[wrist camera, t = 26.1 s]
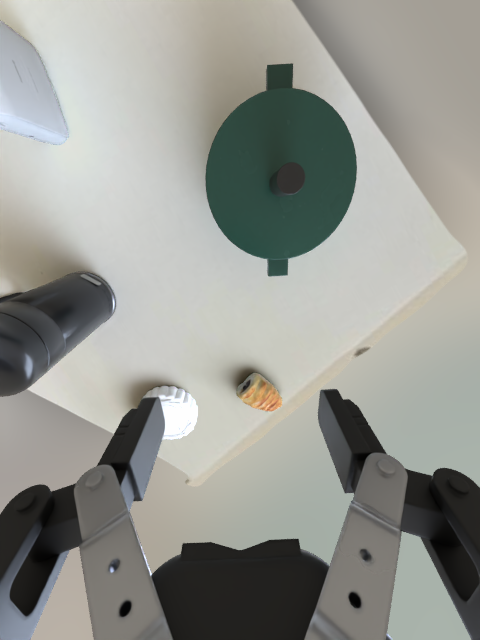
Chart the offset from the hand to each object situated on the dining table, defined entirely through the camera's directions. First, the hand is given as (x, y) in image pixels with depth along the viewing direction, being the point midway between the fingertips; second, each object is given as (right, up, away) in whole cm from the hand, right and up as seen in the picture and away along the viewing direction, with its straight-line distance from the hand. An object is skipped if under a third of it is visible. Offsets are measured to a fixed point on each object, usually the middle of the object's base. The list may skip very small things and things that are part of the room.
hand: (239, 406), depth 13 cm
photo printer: (-25, +33, +20) cm, 46 cm away
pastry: (+4, -10, +40) cm, 41 cm away
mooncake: (-15, -14, +41) cm, 46 cm away
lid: (+4, +19, +14) cm, 24 cm away
